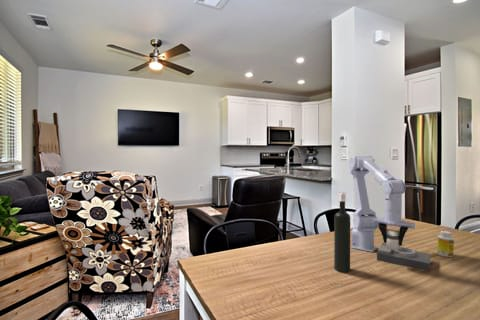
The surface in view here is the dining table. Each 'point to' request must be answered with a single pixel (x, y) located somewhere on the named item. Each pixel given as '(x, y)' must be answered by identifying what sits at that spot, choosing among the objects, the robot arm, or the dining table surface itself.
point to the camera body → (404, 258)
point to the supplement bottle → (445, 244)
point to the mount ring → (410, 254)
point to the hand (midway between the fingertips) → (392, 243)
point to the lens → (392, 239)
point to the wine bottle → (342, 238)
